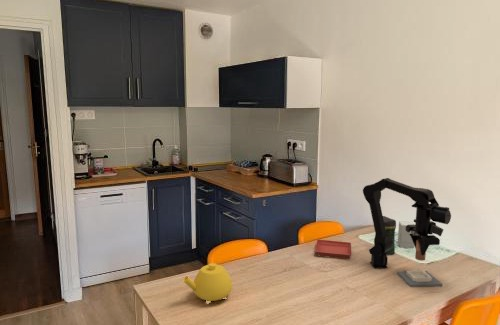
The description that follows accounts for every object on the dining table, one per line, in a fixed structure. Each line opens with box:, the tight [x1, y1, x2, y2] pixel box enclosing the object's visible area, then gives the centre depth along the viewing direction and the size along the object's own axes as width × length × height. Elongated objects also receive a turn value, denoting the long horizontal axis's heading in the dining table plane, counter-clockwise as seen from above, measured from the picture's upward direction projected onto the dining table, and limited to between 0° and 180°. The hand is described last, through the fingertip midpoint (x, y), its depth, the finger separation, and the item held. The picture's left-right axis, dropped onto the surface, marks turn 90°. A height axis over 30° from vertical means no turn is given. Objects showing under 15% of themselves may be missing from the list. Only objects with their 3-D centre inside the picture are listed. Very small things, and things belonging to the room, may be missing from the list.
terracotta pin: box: [415, 240, 427, 262], centre depth 166 cm, size 4×4×8 cm
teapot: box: [182, 262, 233, 302], centre depth 151 cm, size 20×16×14 cm
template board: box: [396, 269, 443, 288], centre depth 168 cm, size 14×13×2 cm
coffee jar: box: [383, 215, 397, 256], centre depth 199 cm, size 10×8×19 cm
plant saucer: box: [314, 239, 353, 259], centre depth 200 cm, size 18×18×3 cm
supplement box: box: [397, 221, 415, 249], centre depth 208 cm, size 7×7×13 cm
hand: (420, 253), depth 166 cm, fingers closed on terracotta pin, 4 cm apart
